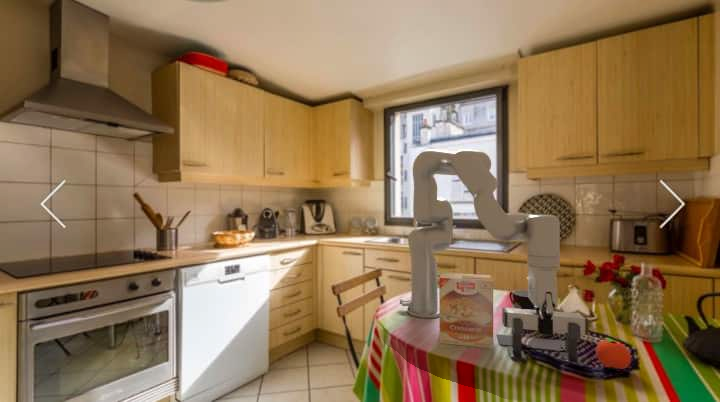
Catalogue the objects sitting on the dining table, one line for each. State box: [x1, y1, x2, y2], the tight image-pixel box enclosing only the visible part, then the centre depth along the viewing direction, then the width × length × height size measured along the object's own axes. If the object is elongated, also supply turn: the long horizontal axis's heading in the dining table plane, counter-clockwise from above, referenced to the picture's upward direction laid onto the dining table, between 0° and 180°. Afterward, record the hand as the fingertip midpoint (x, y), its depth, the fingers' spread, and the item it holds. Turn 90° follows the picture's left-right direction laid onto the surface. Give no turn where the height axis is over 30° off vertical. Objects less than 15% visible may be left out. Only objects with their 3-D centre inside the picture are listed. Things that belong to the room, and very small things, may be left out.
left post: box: [506, 320, 527, 362], centre depth 88 cm, size 4×7×10 cm, turn 164°
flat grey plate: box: [496, 333, 580, 354], centre depth 95 cm, size 20×7×1 cm, turn 74°
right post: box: [559, 325, 584, 365], centre depth 85 cm, size 4×7×10 cm, turn 164°
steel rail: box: [501, 307, 589, 336], centre depth 86 cm, size 19×4×4 cm, turn 74°
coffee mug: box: [509, 289, 534, 310], centre depth 112 cm, size 12×9×10 cm
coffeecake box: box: [438, 272, 494, 349], centre depth 97 cm, size 15×7×20 cm, turn 75°
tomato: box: [595, 337, 632, 370], centre depth 82 cm, size 8×7×7 cm
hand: (543, 329), depth 86 cm, fingers closed on steel rail, 4 cm apart
